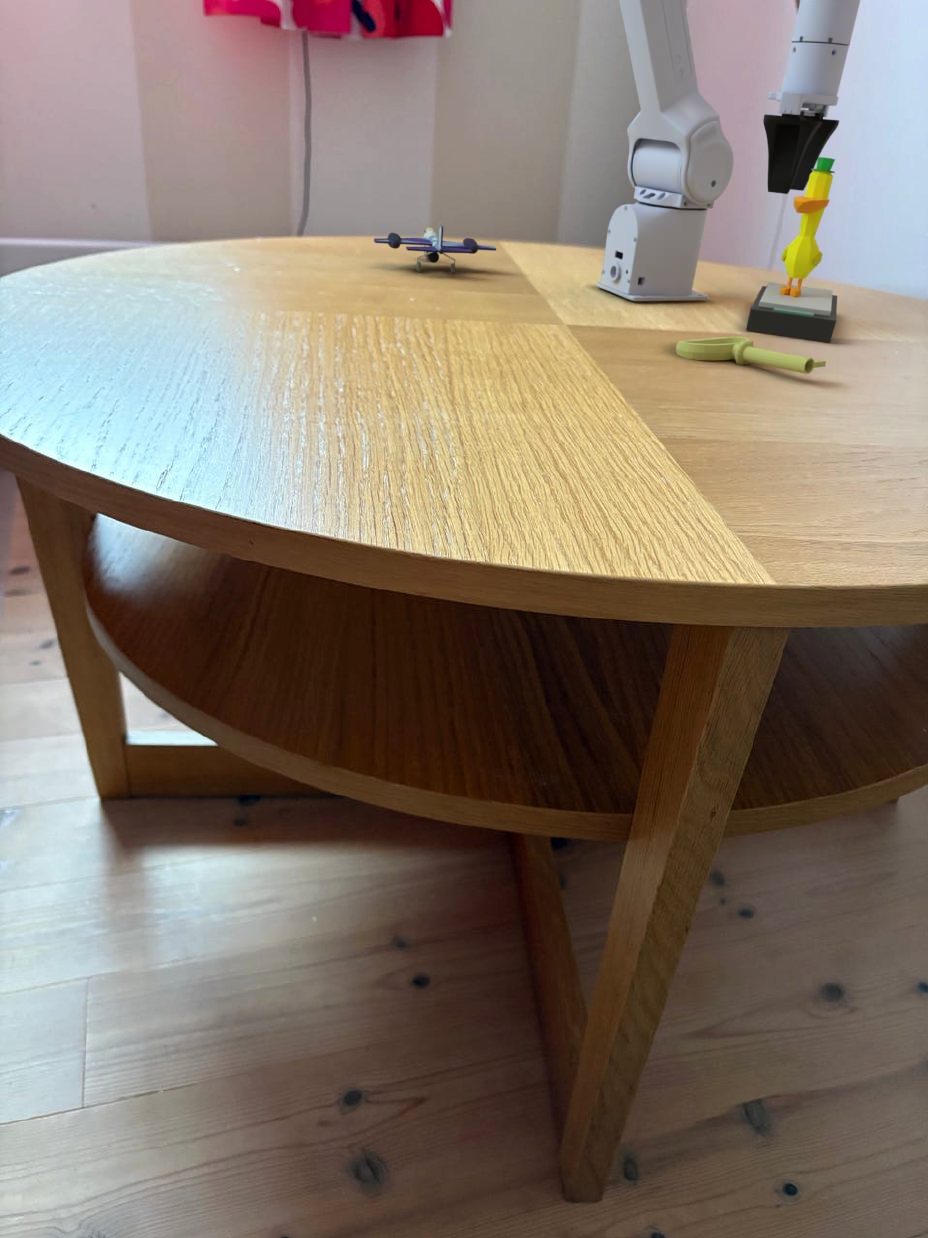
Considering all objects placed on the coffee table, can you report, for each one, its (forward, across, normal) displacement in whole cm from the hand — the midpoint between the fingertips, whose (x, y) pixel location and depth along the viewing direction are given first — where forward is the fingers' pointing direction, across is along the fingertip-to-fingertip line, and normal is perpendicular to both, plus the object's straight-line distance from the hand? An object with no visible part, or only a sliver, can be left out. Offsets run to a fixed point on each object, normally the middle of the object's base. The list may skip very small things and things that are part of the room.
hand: (786, 191), depth 98 cm
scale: (+10, +16, +7) cm, 21 cm away
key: (+11, +37, +8) cm, 39 cm away
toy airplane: (+11, +20, -33) cm, 40 cm away
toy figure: (+8, +16, +6) cm, 19 cm away
